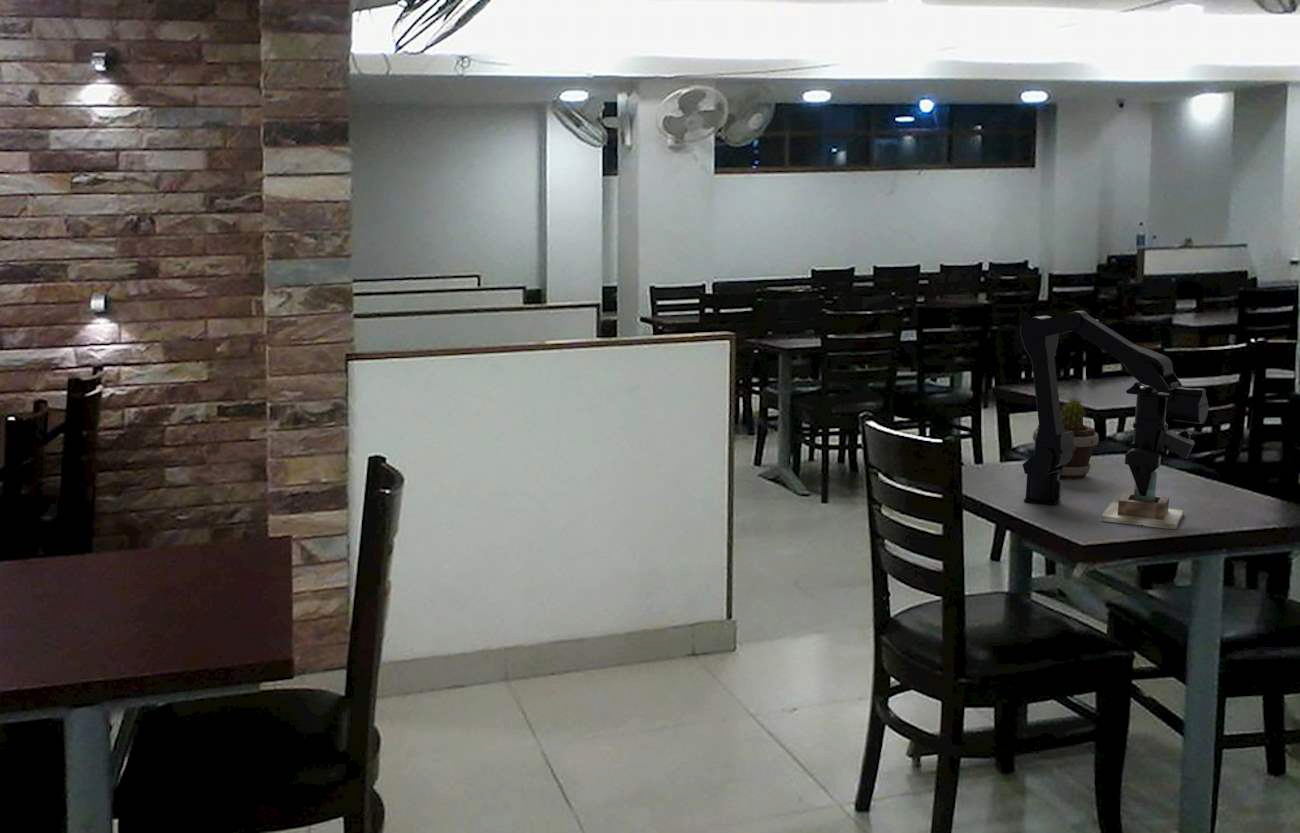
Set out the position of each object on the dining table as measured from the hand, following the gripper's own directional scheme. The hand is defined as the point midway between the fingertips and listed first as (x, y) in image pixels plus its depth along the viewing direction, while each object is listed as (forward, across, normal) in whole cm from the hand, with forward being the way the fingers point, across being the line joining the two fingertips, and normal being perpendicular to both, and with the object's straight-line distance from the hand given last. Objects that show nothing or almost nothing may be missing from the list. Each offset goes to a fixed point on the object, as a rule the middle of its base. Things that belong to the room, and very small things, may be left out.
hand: (1144, 493), depth 260 cm
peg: (+2, 0, 0) cm, 2 cm away
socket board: (+5, 0, 0) cm, 5 cm away
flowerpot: (+5, +35, +22) cm, 42 cm away
